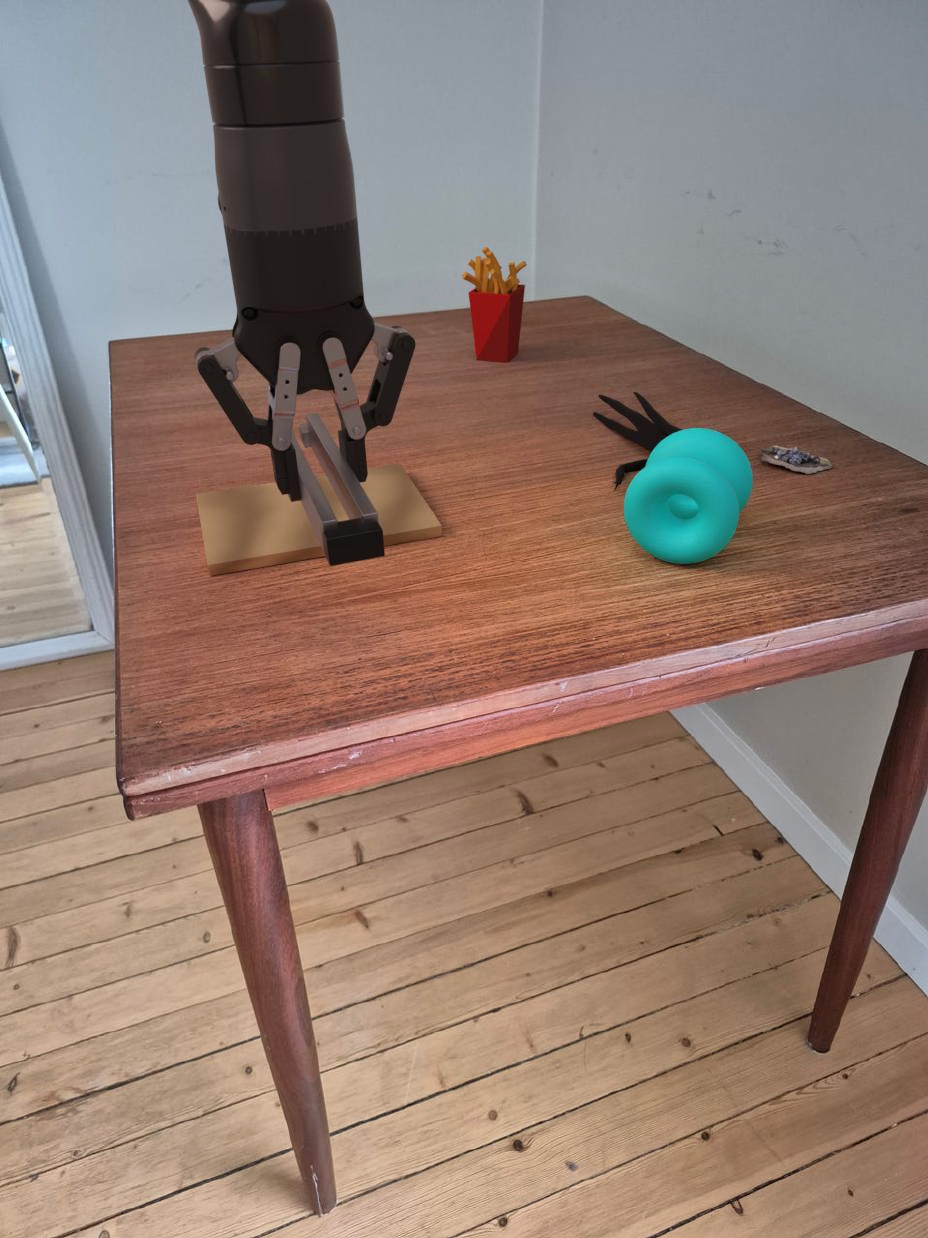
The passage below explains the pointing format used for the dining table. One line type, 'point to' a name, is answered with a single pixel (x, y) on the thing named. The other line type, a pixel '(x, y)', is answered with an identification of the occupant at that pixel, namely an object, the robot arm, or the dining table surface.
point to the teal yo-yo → (689, 496)
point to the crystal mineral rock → (794, 459)
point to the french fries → (495, 308)
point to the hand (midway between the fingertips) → (323, 490)
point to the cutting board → (302, 520)
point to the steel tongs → (362, 528)
